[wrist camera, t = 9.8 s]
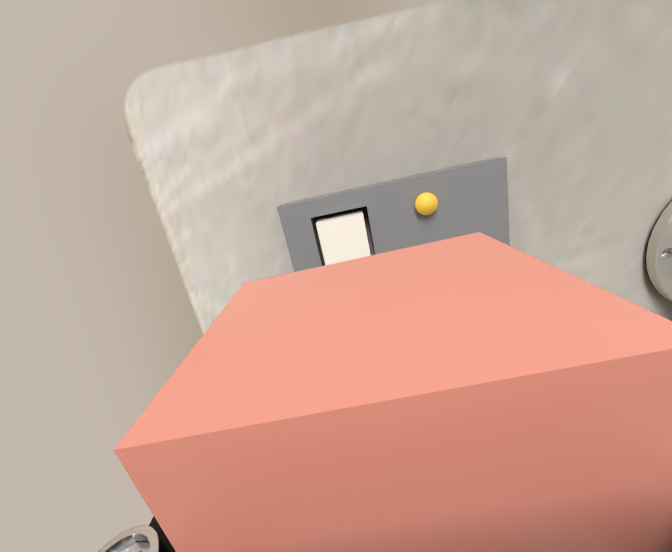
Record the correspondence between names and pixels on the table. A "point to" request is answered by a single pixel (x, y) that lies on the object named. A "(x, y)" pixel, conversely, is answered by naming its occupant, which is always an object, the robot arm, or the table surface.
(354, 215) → the block
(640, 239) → the table surface
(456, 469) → the cap
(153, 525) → the robot arm
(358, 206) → the board
